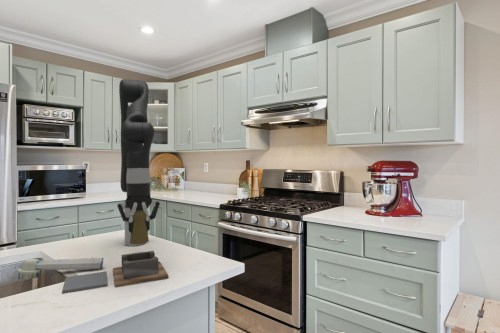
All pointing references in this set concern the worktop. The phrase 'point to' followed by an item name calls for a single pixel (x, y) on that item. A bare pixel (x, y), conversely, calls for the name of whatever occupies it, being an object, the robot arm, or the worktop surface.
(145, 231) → the olive pawn
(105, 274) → the mat
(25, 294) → the worktop surface
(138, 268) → the collar block
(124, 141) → the robot arm
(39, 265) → the toothbrush head
